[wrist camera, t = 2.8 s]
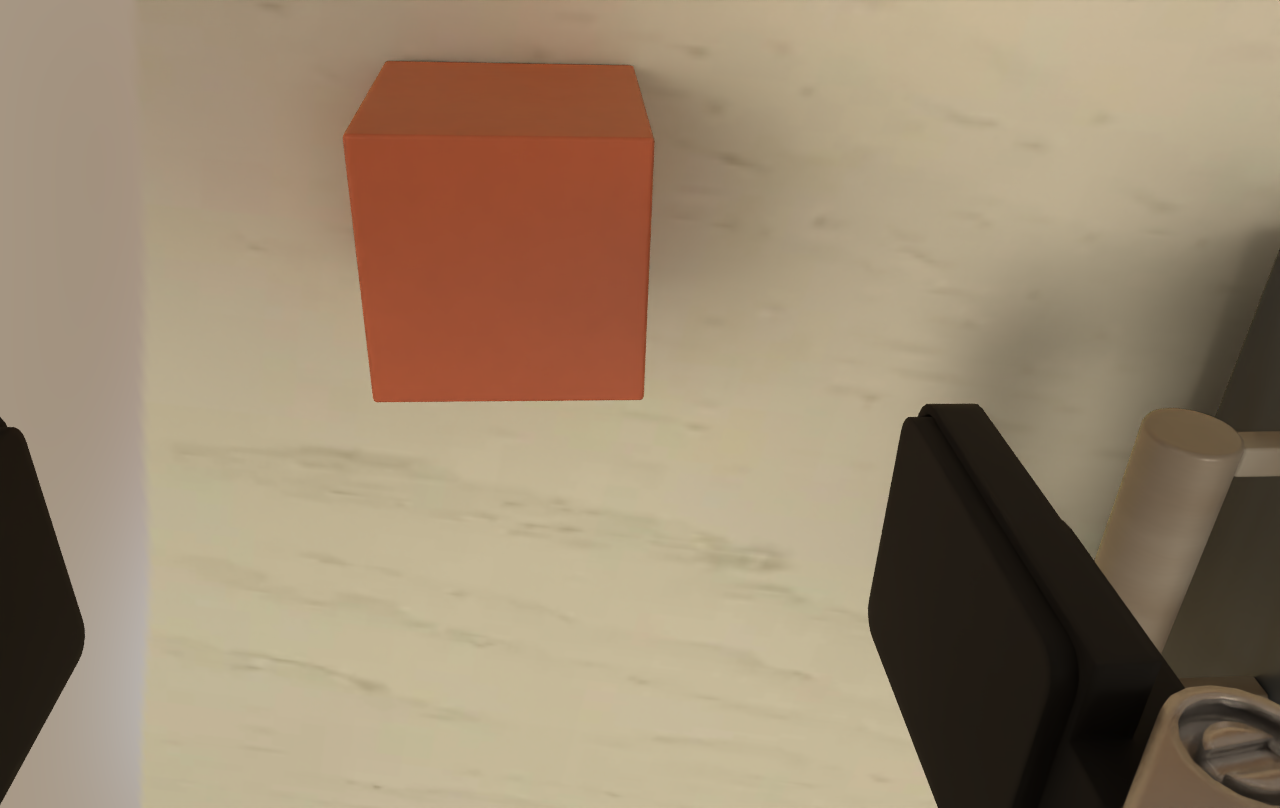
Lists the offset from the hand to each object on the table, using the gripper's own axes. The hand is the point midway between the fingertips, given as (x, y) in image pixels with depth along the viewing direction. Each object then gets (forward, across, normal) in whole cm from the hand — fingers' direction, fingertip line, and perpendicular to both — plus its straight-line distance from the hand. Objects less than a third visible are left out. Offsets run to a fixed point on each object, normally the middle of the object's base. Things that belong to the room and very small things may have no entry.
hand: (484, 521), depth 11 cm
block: (+10, 0, -1) cm, 10 cm away
